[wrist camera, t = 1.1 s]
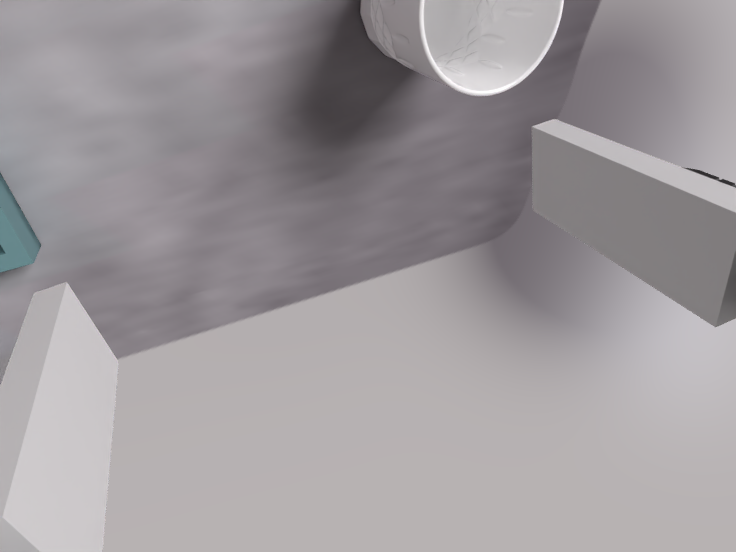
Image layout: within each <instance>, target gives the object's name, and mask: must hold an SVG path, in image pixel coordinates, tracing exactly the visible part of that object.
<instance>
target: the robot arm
mask: <svg viewBox="0 0 736 552" xmlns="http://www.w3.org/2000/svg"><path fill="white" fill-rule="evenodd" d="M532 193H533V194H532V196H533V210H534V211H535V212H537V213H538V214H540V215H541V216H543V217H544V218H546V219H548V220H549V221H551V222H552V223H554V224H555V225H557V226H558V227H560V228H562V229H563V230H565V231H567V232H568V233H569V234H571V235H573V236H574V237H576V238H577V239H579V240H580V241H582V242H583V243H585V244H587V245H588V246H590V247H591V248H593V249H594V250H596V251H598V252H599V253H601V254H602V255H604V256H605V257H607V258H608V259H610V260H611V261H613V262H615V263H616V264H618V265H619V266H621V267H622V268H624V269H626V270H627V271H629V272H630V273H632V274H633V275H635V276H637V277H638V278H640V279H641V280H643V281H644V282H646V283H647V284H649V285H651V286H652V287H654V288H655V289H657V290H658V291H660V292H662V293H663V294H664V295H666V296H668V297H669V298H671V299H672V300H674V301H675V302H677V303H679V304H680V305H682V306H683V307H685V308H686V309H688V310H689V311H692V312H693V313H694V314H696V315H697V316H699V317H700V318H702V319H704V320H705V321H707V322H708V323H710V324H711V325H713V326H715V327H717V326H719V325H722V324H724V323H726V322H728V321H731V320H733V319H735V318H736V185H735V183H732V182H729V181H727V180H724V179H722V180H719V177H716V176H713V175H710V174H708V173H705V172H702V171H700V170H695V169H689V168H683V167H679V166H677V165H674V164H671V163H669V162H666V161H663V160H661V159H658V158H656V157H653V156H651V155H648V154H645V153H643V152H640V151H637V150H635V149H632V148H629V147H627V146H624V145H621V144H619V143H616V142H614V141H611V140H608V139H606V138H603V137H601V136H598V135H595V134H592V133H590V132H587V131H585V130H582V129H579V128H577V127H574V126H571V125H569V124H566V123H564V122H561V121H558V120H556V119H553V120H550V121H547V122H544V123H541V124H538V125H535V126H532ZM118 366H119V362H118V360H117V359H116V357H115V356H114V354H113V352H112V351H111V349H110V348H109V346H108V345H107V343H106V342H105V340H104V339H103V337H102V336H101V334H100V332H99V331H98V329H97V328H96V326H95V325H94V323H93V322H92V320H91V319H90V317H89V316H88V314H87V312H86V311H85V309H84V308H83V306H82V305H81V303H80V302H79V300H78V299H77V297H76V296H75V294H74V292H73V291H72V289H71V288H70V286H69V285H68V283H67V282H65V283H62V284H59V285H56V286H53V287H50V288H47V289H44V290H41V291H38V292H35V293H34V295H33V297H32V300H31V303H30V306H29V308H28V311H27V314H26V317H25V319H24V322H23V325H22V328H21V330H20V333H19V336H18V338H17V341H16V344H15V347H14V349H13V352H12V355H11V358H10V360H9V363H8V366H7V369H6V371H5V374H4V377H3V380H2V382H1V385H0V552H102V551H103V539H104V528H105V516H106V505H107V492H108V480H109V469H110V458H111V446H112V435H113V424H114V411H115V401H116V389H117V377H118Z"/></svg>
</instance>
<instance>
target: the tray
mask: <svg viewBox="0 0 736 552" xmlns="http://www.w3.org/2000/svg"><path fill="white" fill-rule="evenodd" d="M40 247H41V244H40V242H39V240H38V239H37V237H36V235H35V233H34V232H33V230H32V228H31V226H30V224H29V223H28V221H27V219H26V217H25V216H24V214H23V212H22V210H21V209H20V207H19V205H18V203H17V201H16V200H15V198H14V196H13V194H12V193H11V191H10V189H9V187H8V186H7V184H6V182H5V180H4V178H3V177H2V175H1V173H0V272H4V271H7V270H11V269H15V268H18V267H22V266H25V265H29V264H33V263H34V261H35V259H36V256H37V254H38V252H39V249H40Z"/></svg>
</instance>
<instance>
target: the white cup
mask: <svg viewBox="0 0 736 552" xmlns="http://www.w3.org/2000/svg"><path fill="white" fill-rule="evenodd" d="M563 3H564V0H361V8H360V14H361V17H362V20H363V23H364V26H365V29H366V32H367V35H368V38H369V39H370V40H371V41H372V42H373V43H374V44H375V45H376V46H377V47H378V48H379V49H380V51H381V52H382V53H383V54H384V55H386V56H388V57H390V58H393V59H395V60H397V61H398V62H399V63H401V64H402V65H404V66H406V67H408V68H410V69H412V70H414V71H416V72H418V73H419V74H421V75H423V76H426V77H428V78H430V79H432V80H435V81H437V82H439V83H441V84H444V85H446V86H448V87H450V88H452V89H454V90H457V91H459V92H461V93H464V94H468V95H472V96H489V95H494V94H498V93H501V92H504V91H506V90H508V89H510V88H512V87H514V86H515V85H517V84H518V83H520V82H521V81H522V80H524V79H525V78H526V77H527V76H528V75H529V74H530V73H531V72H532V71H533V70H534V69H535V68H536V67H537V65H538V64H539V63H540V62H541V60H542V59H543V57H544V56H545V54H546V53H547V51H548V49H549V47H550V45H551V43H552V41H553V39H554V37H555V34H556V32H557V29H558V26H559V23H560V19H561V15H562V10H563Z"/></svg>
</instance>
